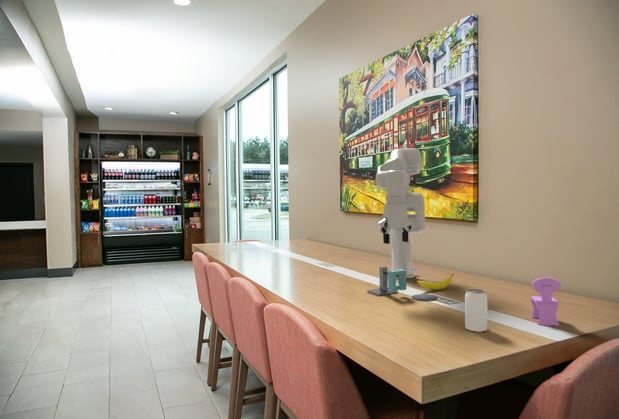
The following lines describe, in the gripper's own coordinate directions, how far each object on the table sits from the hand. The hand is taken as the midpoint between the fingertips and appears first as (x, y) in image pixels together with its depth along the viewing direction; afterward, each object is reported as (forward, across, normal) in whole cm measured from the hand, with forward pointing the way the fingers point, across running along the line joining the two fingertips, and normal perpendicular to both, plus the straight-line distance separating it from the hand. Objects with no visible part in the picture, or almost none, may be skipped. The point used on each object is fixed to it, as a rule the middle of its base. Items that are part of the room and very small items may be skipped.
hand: (396, 242), depth 181 cm
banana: (+23, -22, -1) cm, 32 cm away
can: (+23, +6, +46) cm, 52 cm away
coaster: (+22, -8, +7) cm, 25 cm away
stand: (+22, 0, -5) cm, 23 cm away
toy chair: (+23, -18, +52) cm, 60 cm away
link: (+20, 0, 0) cm, 20 cm away
